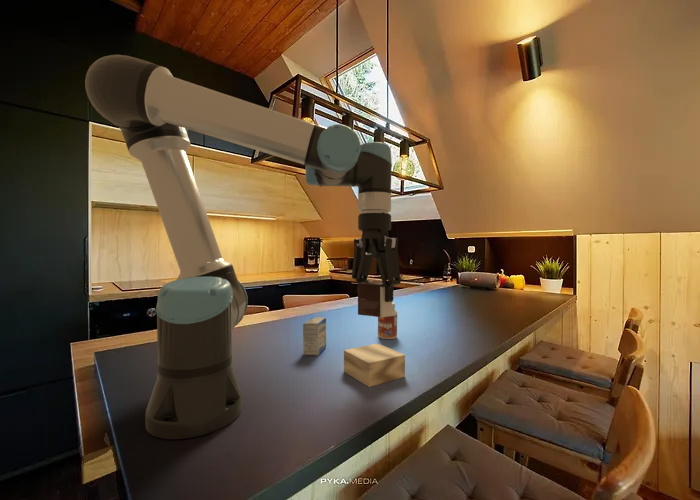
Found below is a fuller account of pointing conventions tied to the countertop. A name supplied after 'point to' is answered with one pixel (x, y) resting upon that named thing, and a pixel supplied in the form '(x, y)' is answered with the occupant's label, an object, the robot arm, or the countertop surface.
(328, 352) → the countertop surface
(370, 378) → the beech block
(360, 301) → the box
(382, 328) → the pill bottle
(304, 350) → the medicine box
